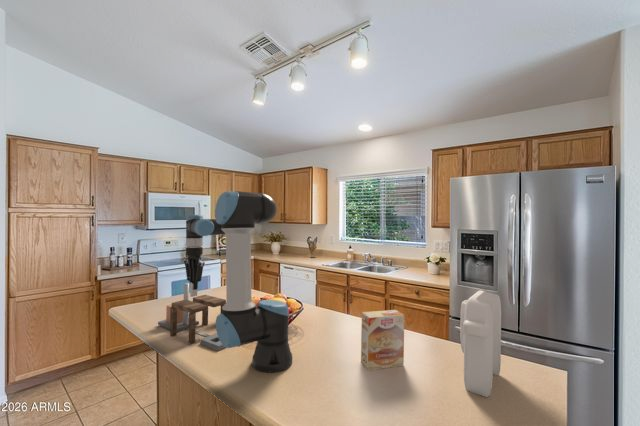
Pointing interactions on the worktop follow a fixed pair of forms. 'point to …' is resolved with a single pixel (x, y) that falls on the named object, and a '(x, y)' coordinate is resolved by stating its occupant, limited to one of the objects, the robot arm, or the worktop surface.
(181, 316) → the white lever handle
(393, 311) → the coffeecake box
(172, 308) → the wooden rack
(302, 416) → the worktop surface
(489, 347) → the white upright slab
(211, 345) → the pit plate
